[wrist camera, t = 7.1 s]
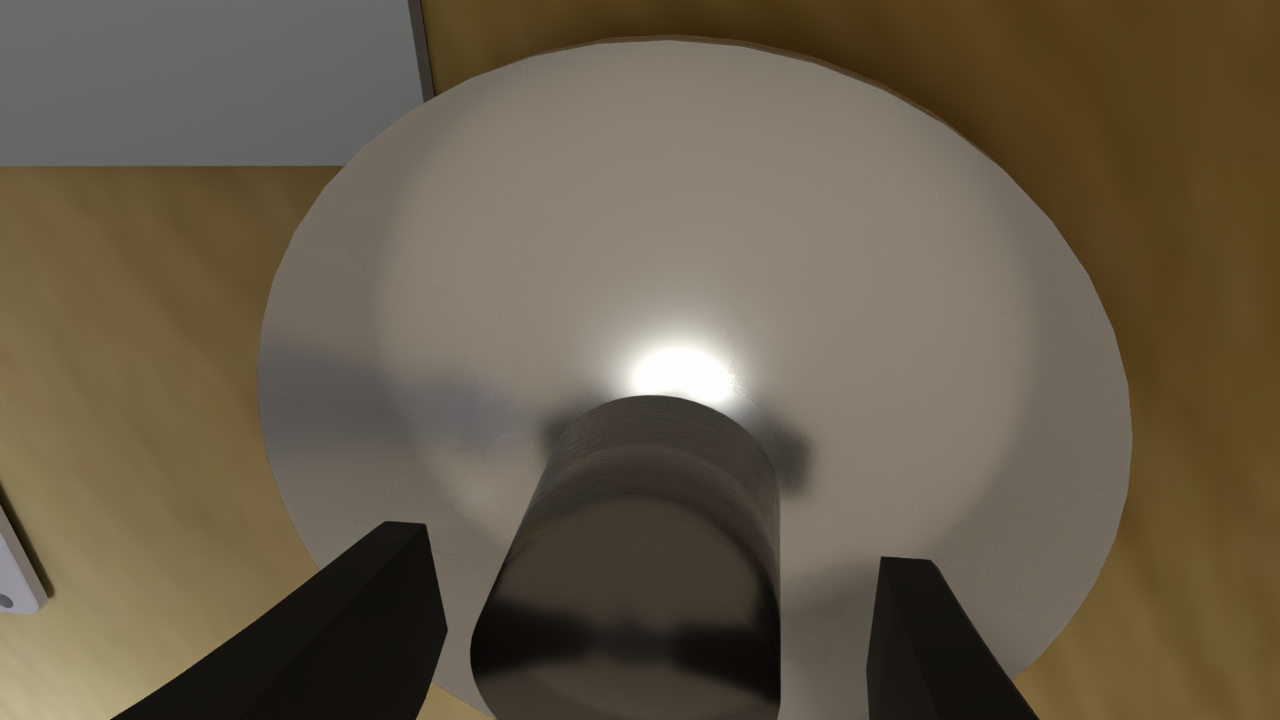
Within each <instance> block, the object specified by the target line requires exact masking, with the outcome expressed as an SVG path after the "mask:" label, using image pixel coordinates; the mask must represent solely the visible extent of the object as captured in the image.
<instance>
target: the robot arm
mask: <svg viewBox="0 0 1280 720" xmlns="http://www.w3.org/2000/svg"><path fill="white" fill-rule="evenodd" d="M47 600H48V599H47V595H46V592H45V590H44V588H43V586H42V585H41V583H40V581H39V579H38V577H37V575H36V573H35V571H34V569H33V567H32V565H31V563H30V561H29V559H28V557H27V555H26V553H25V552H24V550H23V548H22V546H21V544H20V542H19V540H18V538H17V536H16V534H15V532H14V530H13V528H12V526H11V524H10V522H9V521H8V519H7V517H6V515H5V513H4V511H3V509H2V507H1V505H0V612H6V613H16V614H26V615H29V614H35V613H37V612H38V611H39V610H40V609H41V608H42V607H44V606H45V605H46V604H47ZM447 632H448V627H447V622H446V617H445V613H444V608H443V603H442V598H441V593H440V589H439V584H438V579H437V574H436V569H435V565H434V560H433V555H432V550H431V545H430V541H429V536H428V531H427V526H426V524H425V523H411V522H397V521H384V522H383V523H381V524H380V525H379V526H377V527H376V528H375V529H373V530H372V531H371V532H369V533H368V534H367V535H365V536H364V537H363V538H361V539H360V540H359V541H357V542H356V543H355V544H354V545H352V546H351V547H350V548H349V549H347V550H346V551H345V552H343V553H342V554H341V555H340V556H338V557H337V558H336V559H335V560H333V561H332V562H331V563H329V564H328V565H327V566H326V567H324V568H323V569H322V570H321V571H319V572H318V573H317V574H316V575H314V576H313V577H312V578H310V579H309V580H308V581H307V582H305V583H304V584H303V585H301V586H300V587H299V588H298V589H296V590H295V591H294V592H292V593H291V594H290V595H288V596H287V597H286V598H285V599H283V600H282V601H281V602H279V603H278V604H277V605H275V606H274V607H273V608H272V609H270V610H269V611H268V612H266V613H265V614H264V615H262V616H261V617H260V618H259V619H257V620H256V621H255V622H253V623H252V624H250V625H249V626H248V627H246V628H245V629H243V630H242V631H241V632H239V633H238V634H236V635H235V636H234V637H232V638H231V639H229V640H228V641H227V642H225V643H224V644H222V645H221V646H220V647H218V648H217V649H215V650H214V651H213V652H211V653H210V654H208V655H207V656H206V657H204V658H203V659H201V660H200V661H199V662H197V663H196V664H194V665H193V666H192V667H190V668H189V669H187V670H186V671H185V672H183V673H182V674H180V675H179V676H177V677H176V678H174V679H173V680H171V681H170V682H168V683H167V684H165V685H164V686H162V687H161V688H159V689H158V690H156V691H155V692H153V693H152V694H150V695H149V696H147V697H145V698H144V699H142V700H141V701H139V702H138V703H136V704H135V705H133V706H131V707H130V708H128V709H126V710H125V711H123V712H122V713H120V714H118V715H117V716H115V717H113V718H112V719H110V720H416V718H417V716H418V714H419V711H420V709H421V707H422V705H423V703H424V701H425V698H426V695H427V692H428V689H429V687H430V684H431V681H432V678H433V675H434V672H435V670H436V667H437V664H438V660H439V657H440V654H441V651H442V648H443V645H444V642H445V639H446V636H447ZM866 677H867V692H868V707H869V720H1039V718H1038V717H1037V716H1036V714H1035V713H1034V712H1033V710H1032V709H1031V707H1030V706H1029V705H1028V703H1027V702H1026V701H1025V699H1024V698H1023V696H1022V695H1021V694H1020V692H1019V691H1018V689H1017V688H1016V687H1015V685H1014V684H1013V682H1012V681H1011V680H1010V678H1009V677H1008V676H1007V674H1006V673H1005V671H1004V670H1003V669H1002V667H1001V666H1000V664H999V663H998V661H997V660H996V658H995V657H994V656H993V654H992V653H991V651H990V650H989V648H988V647H987V645H986V644H985V642H984V641H983V639H982V638H981V636H980V635H979V633H978V631H977V630H976V628H975V627H974V625H973V624H972V622H971V621H970V619H969V618H968V616H967V614H966V613H965V611H964V610H963V608H962V607H961V605H960V603H959V602H958V600H957V598H956V597H955V595H954V594H953V592H952V590H951V589H950V587H949V585H948V584H947V582H946V580H945V579H944V577H943V575H942V573H941V572H940V570H939V568H938V567H937V566H936V565H935V564H934V563H933V562H932V561H931V560H928V559H914V558H900V557H886V556H881V559H880V566H879V574H878V582H877V589H876V597H875V604H874V612H873V620H872V627H871V635H870V642H869V650H868V657H867V665H866Z"/></svg>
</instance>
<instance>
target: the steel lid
mask: <svg viewBox="0 0 1280 720" xmlns="http://www.w3.org/2000/svg"><path fill="white" fill-rule="evenodd" d="M257 381H258V401H259V417H260V422H261V427H262V432H263V437H264V443H265V448H266V453H267V458H268V461H269V464H270V467H271V470H272V473H273V476H274V479H275V482H276V485H277V488H278V491H279V494H280V497H281V500H282V502H283V504H284V506H285V508H286V511H287V513H288V515H289V517H290V519H291V521H292V523H293V525H294V527H295V529H296V531H297V533H298V535H299V537H300V539H301V541H302V543H303V544H304V546H305V548H306V549H307V551H308V552H309V554H310V555H311V557H312V559H313V560H314V562H315V563H316V565H317V566H318V568H319V570H320V571H321V570H322V569H323V568H324V567H326V566H327V565H328V564H329V563H331V562H332V561H333V560H335V559H336V558H337V557H338V556H340V555H341V554H342V553H343V552H345V551H346V550H347V549H349V548H350V547H351V546H352V545H354V544H355V543H356V542H357V541H359V540H360V539H361V538H363V537H364V536H365V535H367V534H368V533H369V532H371V531H372V530H373V529H375V528H376V527H377V526H379V525H380V524H381V523H383V522H384V521H397V522H411V523H425V524H426V526H427V531H428V536H429V541H430V545H431V550H432V555H433V560H434V565H435V569H436V574H437V579H438V584H439V589H440V593H441V598H442V603H443V608H444V613H445V617H446V622H447V627H448V632H447V636H446V639H445V642H444V645H443V648H442V651H441V654H440V657H439V660H438V664H437V667H436V670H435V672H434V675H433V678H432V682H434V683H435V684H437V685H438V686H440V687H441V688H442V689H444V690H445V691H447V692H448V693H450V694H451V695H453V696H455V697H456V698H458V699H460V700H462V701H463V702H465V703H467V704H469V705H470V706H472V707H474V708H476V709H477V710H479V711H481V712H483V713H484V714H486V715H488V716H490V717H492V718H494V719H496V720H869V707H868V692H867V677H866V665H867V657H868V650H869V642H870V635H871V627H872V620H873V612H874V604H875V597H876V589H877V582H878V574H879V566H880V559H881V556H886V557H900V558H914V559H928V560H931V561H932V562H933V563H934V564H935V565H936V566H937V567H938V568H939V570H940V572H941V573H942V575H943V577H944V579H945V580H946V582H947V584H948V585H949V587H950V589H951V590H952V592H953V594H954V595H955V597H956V598H957V600H958V602H959V603H960V605H961V607H962V608H963V610H964V611H965V613H966V614H967V616H968V618H969V619H970V621H971V622H972V624H973V625H974V627H975V628H976V630H977V631H978V633H979V635H980V636H981V638H982V639H983V641H984V642H985V644H986V645H987V647H988V648H989V650H990V651H991V653H992V654H993V656H994V657H995V658H996V660H997V661H998V663H999V664H1000V666H1001V667H1002V669H1003V670H1004V671H1005V673H1006V674H1007V676H1008V677H1009V678H1010V680H1011V681H1012V680H1013V679H1014V678H1016V677H1017V676H1018V675H1019V674H1020V673H1022V672H1023V671H1024V670H1025V669H1026V668H1027V667H1029V666H1030V665H1031V664H1032V663H1033V662H1034V661H1036V660H1037V659H1038V658H1039V656H1040V655H1041V654H1042V653H1043V652H1044V651H1045V650H1046V649H1047V647H1048V646H1049V645H1050V644H1051V643H1052V642H1053V641H1054V640H1055V639H1056V637H1057V636H1058V635H1059V634H1060V633H1061V632H1062V631H1063V630H1064V628H1065V627H1066V626H1067V625H1068V624H1069V622H1070V621H1071V619H1072V618H1073V616H1074V615H1075V613H1076V612H1077V610H1078V609H1079V607H1080V606H1081V604H1082V603H1083V601H1084V600H1085V598H1086V597H1087V595H1088V594H1089V592H1090V591H1091V589H1092V587H1093V586H1094V584H1095V582H1096V580H1097V578H1098V576H1099V574H1100V571H1101V569H1102V567H1103V565H1104V563H1105V560H1106V558H1107V556H1108V554H1109V552H1110V549H1111V547H1112V545H1113V543H1114V541H1115V537H1116V534H1117V530H1118V526H1119V523H1120V519H1121V515H1122V511H1123V508H1124V504H1125V500H1126V497H1127V493H1128V485H1129V474H1130V463H1131V452H1132V441H1133V438H1132V426H1131V414H1130V402H1129V390H1128V383H1127V379H1126V375H1125V372H1124V368H1123V364H1122V360H1121V356H1120V353H1119V349H1118V345H1117V341H1116V337H1115V334H1114V330H1113V328H1112V325H1111V323H1110V321H1109V319H1108V317H1107V315H1106V312H1105V310H1104V308H1103V306H1102V304H1101V301H1100V299H1099V297H1098V295H1097V293H1096V291H1095V288H1094V286H1093V284H1092V282H1091V280H1090V277H1089V275H1088V274H1087V272H1086V271H1085V269H1084V268H1083V266H1082V265H1081V263H1080V262H1079V260H1078V259H1077V257H1076V256H1075V254H1074V253H1073V251H1072V250H1071V248H1070V247H1069V246H1068V244H1067V243H1066V241H1065V240H1064V238H1063V237H1062V235H1061V234H1060V232H1059V231H1058V229H1057V228H1056V226H1055V225H1054V223H1053V222H1052V221H1051V220H1050V219H1049V217H1048V216H1047V215H1046V214H1045V213H1044V212H1043V211H1042V210H1041V209H1040V208H1039V207H1038V206H1037V205H1036V204H1035V203H1034V202H1033V201H1032V199H1031V198H1030V197H1029V196H1028V195H1027V194H1026V193H1025V192H1024V191H1023V190H1022V189H1021V188H1020V187H1019V186H1018V185H1017V184H1016V182H1015V181H1014V180H1013V179H1012V178H1011V177H1010V176H1009V175H1008V174H1007V173H1006V172H1005V171H1004V170H1003V169H1002V168H1001V167H1000V166H999V165H998V164H997V163H996V162H995V161H994V160H993V159H992V158H991V157H990V156H989V155H988V154H987V153H986V152H984V151H983V150H982V149H981V148H979V147H978V146H977V145H975V144H974V143H973V142H972V141H970V140H969V139H968V138H966V137H965V136H964V135H963V134H961V133H960V132H959V131H957V130H956V129H955V128H954V127H952V126H951V125H950V124H948V123H947V122H946V121H945V120H943V119H942V118H941V117H939V116H938V115H937V114H935V113H933V112H932V111H930V110H928V109H926V108H924V107H923V106H921V105H919V104H917V103H916V102H914V101H912V100H910V99H908V98H907V97H905V96H903V95H901V94H900V93H898V92H896V91H894V90H893V89H891V88H889V87H887V86H885V85H884V84H882V83H880V82H878V81H876V80H874V79H871V78H868V77H866V76H863V75H861V74H858V73H855V72H853V71H850V70H848V69H845V68H843V67H840V66H837V65H835V64H832V63H830V62H827V61H825V60H822V59H819V58H817V57H814V56H811V55H807V54H802V53H798V52H794V51H789V50H785V49H781V48H776V47H772V46H768V45H764V44H759V43H755V42H751V41H746V40H737V39H726V38H715V37H703V36H692V35H680V34H669V35H650V36H632V37H613V38H605V39H600V40H595V41H590V42H585V43H580V44H575V45H570V46H565V47H560V48H555V49H550V50H545V51H542V52H539V53H536V54H534V55H531V56H528V57H525V58H522V59H520V60H517V61H514V62H511V63H509V64H506V65H503V66H500V67H497V68H495V69H492V70H489V71H486V72H484V73H482V74H479V75H477V76H475V77H473V78H471V79H468V80H466V81H464V82H462V83H460V84H459V85H457V86H455V87H453V88H451V89H449V90H448V91H446V92H444V93H442V94H440V95H438V96H436V97H435V98H433V99H431V100H429V101H427V102H425V103H424V104H422V105H420V106H418V107H416V108H414V109H412V110H411V111H409V112H408V113H406V114H405V115H404V116H402V117H401V118H400V119H398V120H397V121H396V122H395V123H393V124H392V125H391V126H389V127H388V128H387V129H385V130H384V131H383V132H382V133H380V134H379V135H378V136H376V137H375V138H374V139H372V140H371V141H370V142H368V143H367V144H366V145H365V146H363V147H362V148H361V149H360V150H359V151H358V152H357V153H356V154H355V156H354V157H353V158H352V159H351V160H350V161H349V162H348V163H347V164H346V165H345V166H344V167H343V168H342V169H341V170H340V171H339V173H338V174H337V175H336V176H335V177H334V178H333V179H332V180H331V181H330V182H329V183H328V184H327V185H326V186H325V187H324V189H323V190H322V192H321V193H320V195H319V196H318V198H317V199H316V201H315V202H314V204H313V205H312V207H311V208H310V210H309V211H308V213H307V214H306V216H305V217H304V219H303V220H302V222H301V223H300V225H299V226H298V228H297V229H296V231H295V232H294V234H293V237H292V239H291V241H290V243H289V246H288V248H287V250H286V252H285V254H284V257H283V259H282V261H281V263H280V265H279V268H278V270H277V272H276V274H275V277H274V280H273V283H272V287H271V291H270V295H269V298H268V302H267V306H266V310H265V313H264V317H263V321H262V326H261V336H260V346H259V355H258V365H257Z"/></svg>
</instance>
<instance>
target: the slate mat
mask: <svg viewBox="0 0 1280 720" xmlns="http://www.w3.org/2000/svg"><path fill="white" fill-rule="evenodd" d="M433 98H435V96H434V90H433V83H432V77H431V70H430V64H429V57H428V51H427V44H426V38H425V31H424V24H423V18H422V11H421V5H420V0H0V166H345V165H346V164H347V163H348V162H349V161H350V160H351V159H352V158H353V157H354V156H355V154H356V153H357V152H358V151H359V150H360V149H361V148H362V147H363V146H365V145H366V144H367V143H368V142H370V141H371V140H372V139H374V138H375V137H376V136H378V135H379V134H380V133H382V132H383V131H384V130H385V129H387V128H388V127H389V126H391V125H392V124H393V123H395V122H396V121H397V120H398V119H400V118H401V117H402V116H404V115H405V114H406V113H408V112H409V111H411V110H412V109H414V108H416V107H418V106H420V105H422V104H424V103H425V102H427V101H429V100H431V99H433Z"/></svg>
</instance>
